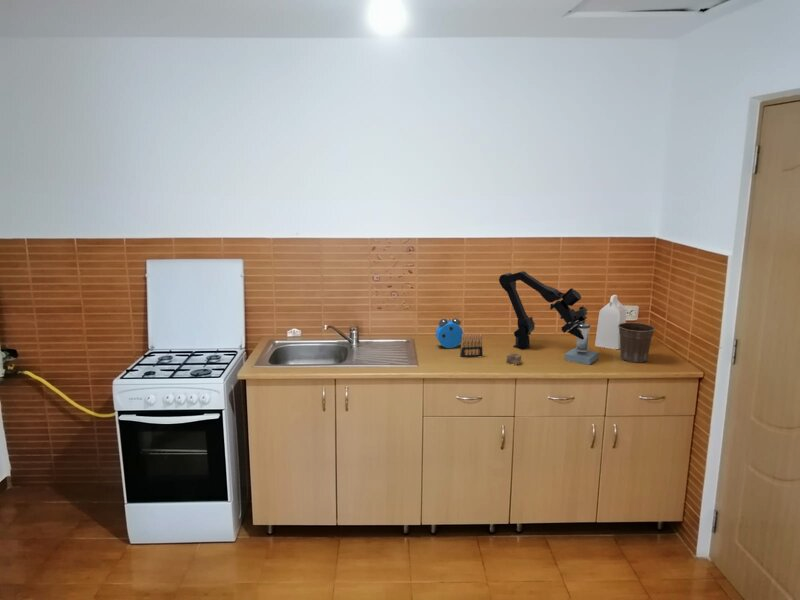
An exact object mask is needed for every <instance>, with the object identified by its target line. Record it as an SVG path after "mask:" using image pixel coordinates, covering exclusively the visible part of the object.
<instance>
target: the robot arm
mask: <svg viewBox="0 0 800 600" xmlns="http://www.w3.org/2000/svg"><path fill="white" fill-rule="evenodd" d="M517 281H520V282H523V283H524V284H525V285H527V287H528V286H529V287H530V288H531V289H532V290H535V291H536V292H537V293H539V294H540V296H541V297H542V298H543V299H544V300H545V301H546V302H547V303H550V307H549V310H551V311H552V310H553V309H555V311H556V312H557V313H558V315H560V317H559V318H560V320H563V321H564V322H565V324H564V325H563V326H561V332H563V334H565V333H566V332H567V333H568V334H571V335H573V336H575V337H576V338H577V337H578V338H580V339H582V340H583V339H584V337H583V335H582V333H581V332H580V330H579V324H578V323H586V321H587V319H588V317H587V316H586V315H588V309H587V308H586V307H585V306H584V305H583V306H580V307H579V309H577V310H575V309H573V308H571V307H573V306H574V305H575V304H576V303H577V302H579V301H581V300H582V296H581V294H580V292H578V291H577V290H575V289H574V288H573V287H570V288H569V289H568V290H567V291H566V292H565V293H564V292H561V291H560V290H558V289H556V288H554V287H552V286H549V285H546V284H544V283H542V282H541V281H539V280H538V279H536V278H535V277H533V276H531V275H530V274H528V273H527V272H526V271H524V270H522V271H518V272H516V273H512V272H507V273H504V274H501V275H500V276H499V278H498V282H499V285H501V288H502V289H503V290H504V291H505V292H506V293H507V296H508V298H509V300H510V303H511V306H512V307H513V308H512V309H513V310H514V312H515V315H516V318H517V328H518V329H516V330H515V331H514V332H513V335H514V337H515V344H514V345H513V346H512V347H514V348H516V349H519V350H526V349H530V348H532V346H531V345H530V341H531V339H530V335H531V334H532V332H533V331H534V330H535V325H536V323H535V322H534V320H533V316H530V317H529V316H528V315H527V313H526V311H525V308H524V305H523V303H522V300H521V298H520V295H519V293H518V290H517ZM555 301H556V302H555ZM553 302H554V303H553Z"/></svg>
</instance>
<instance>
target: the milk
mask: <svg viewBox="0 0 800 600" xmlns="http://www.w3.org/2000/svg"><path fill="white" fill-rule="evenodd" d="M621 323H627V309H626V307H625V306H624V305H623V304H622V303H621V302H620V301H619V300H618V295H617V294H613V295H611V296H610V300H609V303H606V305H604V306H603V307H602V308H600V310H599V313H598V320H597V327H596V334H595V343H594V347H598V348H604V347H605V348H606V349H610V348H611V350H616V349H618V350H619V349H620V334H619V327H618V325H619V324H621ZM605 348H604V349H605Z"/></svg>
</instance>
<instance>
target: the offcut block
mask: <svg viewBox="0 0 800 600" xmlns="http://www.w3.org/2000/svg"><path fill="white" fill-rule="evenodd" d="M520 362H521V363H522V354H518V353H513V352H511V353H509V354H507V355H506V364H507V363H509V364H508V365H511V364H514V365H513V366H516V365H517V364H518V365H519V363H520ZM521 363H520V364H521ZM518 365H517V366H518Z"/></svg>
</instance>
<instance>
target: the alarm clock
mask: <svg viewBox="0 0 800 600" xmlns="http://www.w3.org/2000/svg"><path fill="white" fill-rule="evenodd" d="M461 322H462V321H461V320H460V319H459V318H457V317H453V318H452V319H446V318H441V319H440V320H439V321H438V326H437V327H436V329H435V330H436V331H435V338H436V340H437V341H438V343H439V344H440V345H441V347H444V348H446V349H454V348H457V347H458V346H459V345H461V341H462V334H464V331H463V329H462V327H461V324H462V323H461Z"/></svg>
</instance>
